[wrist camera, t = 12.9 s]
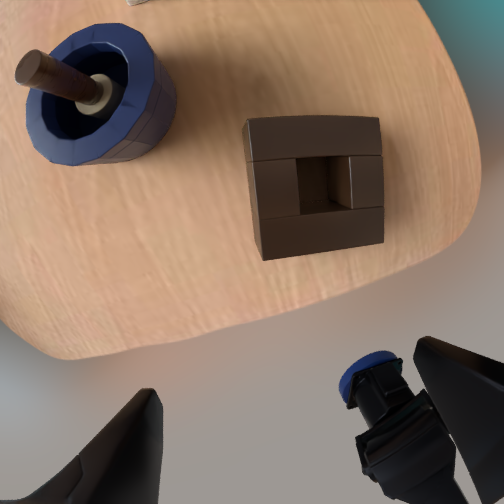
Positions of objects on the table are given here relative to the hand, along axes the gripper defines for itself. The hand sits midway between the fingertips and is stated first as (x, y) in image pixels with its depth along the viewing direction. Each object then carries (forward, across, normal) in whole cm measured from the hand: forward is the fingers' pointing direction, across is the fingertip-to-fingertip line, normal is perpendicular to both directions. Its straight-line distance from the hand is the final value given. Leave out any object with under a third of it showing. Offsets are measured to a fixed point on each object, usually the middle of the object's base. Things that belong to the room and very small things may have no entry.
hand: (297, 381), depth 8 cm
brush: (+12, +8, -12) cm, 19 cm away
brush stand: (+13, -4, -5) cm, 14 cm away
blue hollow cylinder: (+13, +8, -12) cm, 19 cm away
